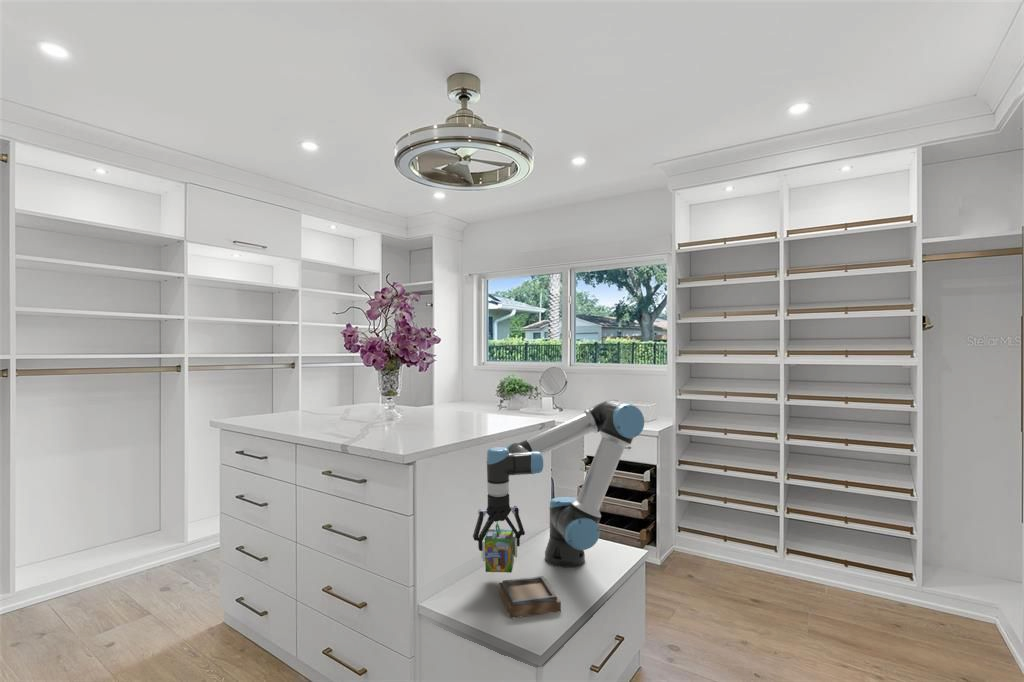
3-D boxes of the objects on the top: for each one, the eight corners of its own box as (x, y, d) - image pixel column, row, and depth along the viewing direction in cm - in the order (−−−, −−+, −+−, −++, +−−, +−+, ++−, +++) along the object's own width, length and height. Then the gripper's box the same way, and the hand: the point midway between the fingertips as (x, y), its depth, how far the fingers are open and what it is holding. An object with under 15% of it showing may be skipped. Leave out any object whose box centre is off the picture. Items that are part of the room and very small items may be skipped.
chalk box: (511, 573, 168) (511, 529, 168) (484, 572, 169) (484, 528, 169) (514, 561, 177) (514, 519, 177) (489, 560, 178) (488, 519, 178)
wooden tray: (544, 586, 170) (545, 574, 170) (560, 611, 154) (560, 597, 154) (498, 592, 166) (498, 579, 166) (510, 618, 150) (510, 604, 150)
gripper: (527, 487, 178) (528, 549, 178) (463, 493, 173) (464, 557, 173) (533, 493, 171) (534, 558, 171) (466, 499, 166) (467, 566, 166)
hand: (499, 557), depth 172 cm, fingers closed on chalk box, 10 cm apart
